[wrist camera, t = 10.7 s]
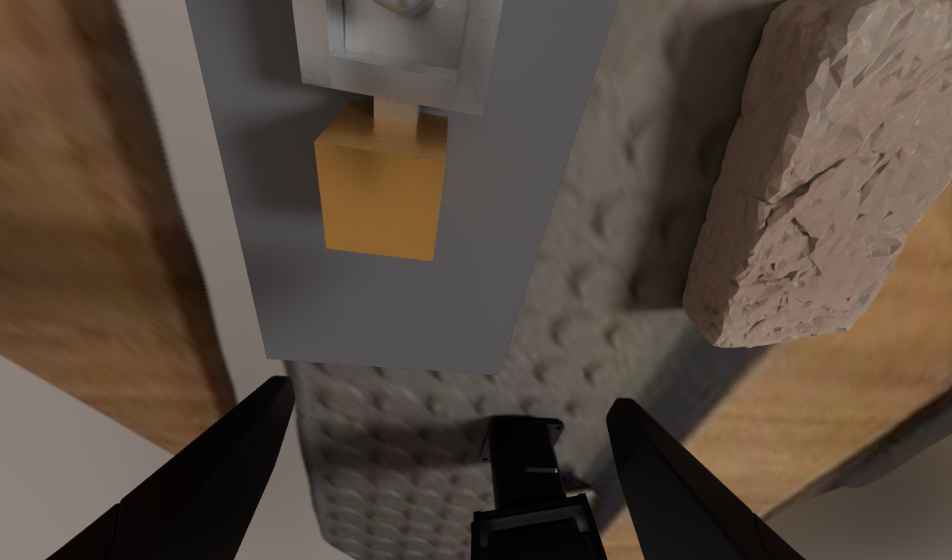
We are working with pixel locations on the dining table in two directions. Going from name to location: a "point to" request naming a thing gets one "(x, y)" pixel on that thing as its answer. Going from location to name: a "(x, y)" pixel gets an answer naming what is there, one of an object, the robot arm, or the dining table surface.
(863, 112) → the brick
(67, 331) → the dining table surface
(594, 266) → the dining table surface
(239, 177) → the plate
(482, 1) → the grey and orange frame
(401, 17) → the metal knob
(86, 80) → the dining table surface
